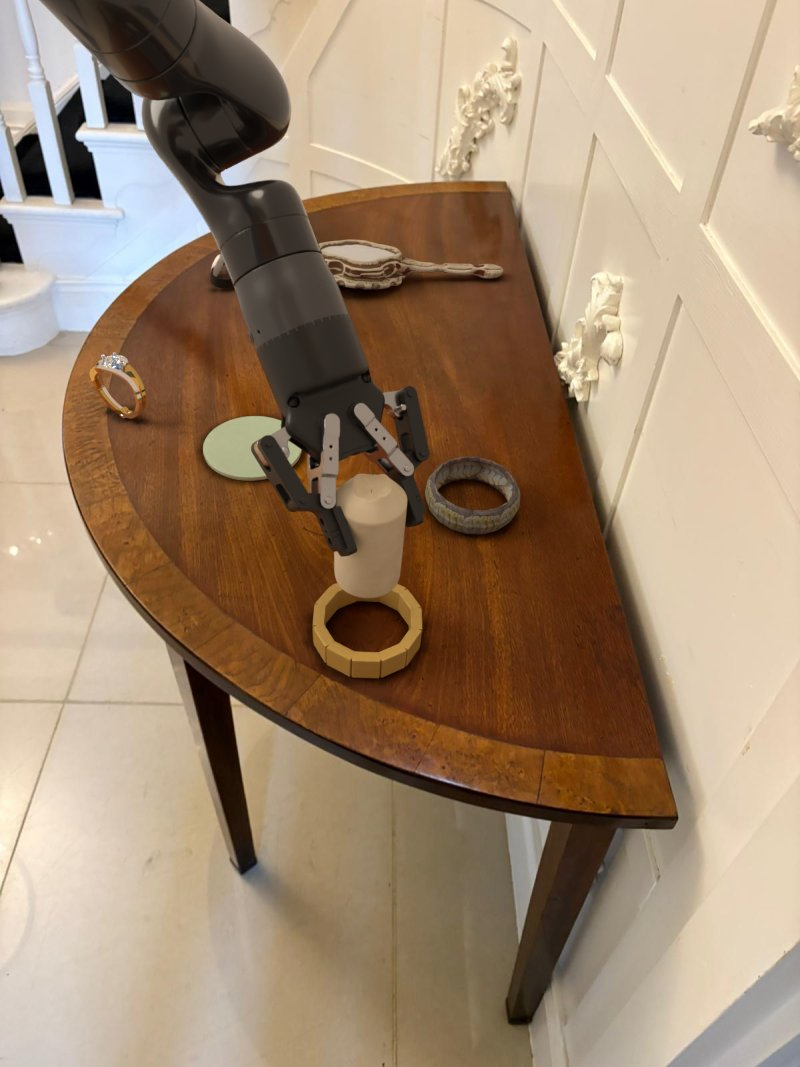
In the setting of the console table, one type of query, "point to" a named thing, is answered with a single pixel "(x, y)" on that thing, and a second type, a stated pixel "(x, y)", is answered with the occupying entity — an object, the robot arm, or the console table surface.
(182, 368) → the console table surface
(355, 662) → the segmented bracelet
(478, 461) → the decorative ring
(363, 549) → the candle
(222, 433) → the coaster
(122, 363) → the ring
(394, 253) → the hand mirror
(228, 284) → the watch
